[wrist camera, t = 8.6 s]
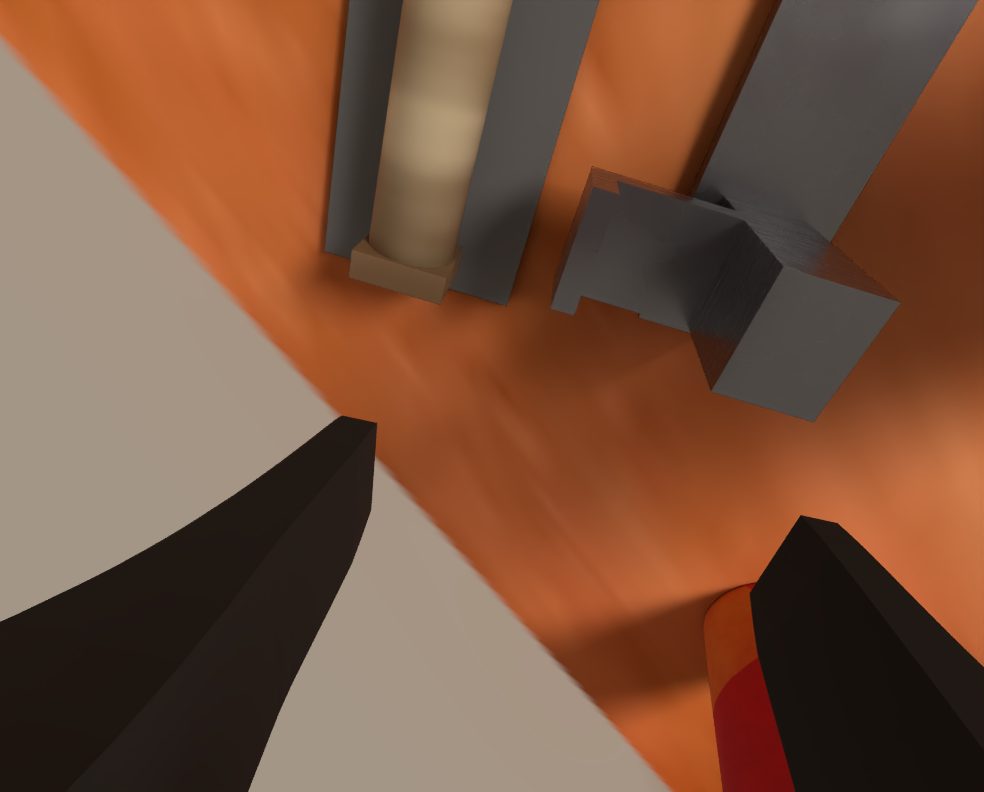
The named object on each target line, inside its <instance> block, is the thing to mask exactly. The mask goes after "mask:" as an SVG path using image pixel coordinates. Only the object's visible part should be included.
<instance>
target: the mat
mask: <svg viewBox="0 0 984 792" xmlns="http://www.w3.org/2000/svg"><path fill="white" fill-rule="evenodd" d="M598 3H599V0H513V2H512V7H511V11H510V15H509V20H508V24H507V28H506V32H505V37H504V41H503V45H502V50H501V54H500V58H499V62H498V67H497V71H496V75H495V80H494V84H493V88H492V93H491V97H490V101H489V105H488V110H487V114H486V118H485V123H484V127H483V131H482V135H481V140H480V144H479V148H478V153H477V157H476V161H475V165H474V170H473V174H472V178H471V183H470V187H469V191H468V195H467V200H466V204H465V208H464V213H463V217H462V221H461V226H460V230H459V234H458V238H457V243H456V245H458V246H461V247H463V251H462V255H461V259H460V263H459V267H458V271H457V273H456V275H455V277H454V279H453V281H452V283H451V285H450V287H449V289H451V290H455V291H458V292H461V293H465V294H468V295H471V296H475V297H478V298H481V299H484V300H488V301H491V302H494V303H498V304H501V305H504V306H507V303H508V300H509V297H510V293H511V290H512V287H513V284H514V280H515V277H516V274H517V270H518V267H519V264H520V260H521V257H522V254H523V251H524V247H525V244H526V241H527V237H528V234H529V231H530V227H531V224H532V221H533V218H534V214H535V211H536V208H537V204H538V201H539V198H540V195H541V191H542V188H543V185H544V181H545V178H546V175H547V171H548V168H549V165H550V162H551V158H552V155H553V152H554V148H555V145H556V142H557V138H558V135H559V132H560V129H561V125H562V122H563V119H564V115H565V112H566V109H567V105H568V102H569V99H570V96H571V92H572V89H573V86H574V82H575V79H576V76H577V72H578V69H579V66H580V63H581V59H582V56H583V53H584V49H585V46H586V43H587V40H588V36H589V33H590V30H591V26H592V23H593V20H594V16H595V13H596V10H597V7H598ZM402 5H403V0H349V10H348V20H347V30H346V40H345V50H344V60H343V70H342V80H341V90H340V101H339V111H338V121H337V131H336V141H335V151H334V161H333V171H332V181H331V191H330V201H329V211H328V221H327V232H326V242H325V252H329V253H332V254H335V255H339V256H342V257H345V258H349V259H351V254H352V249H353V248H354V247H355V246H357V245H358V244H359V243H360V242H361V241H362V240H363V239H364V238H365V237H366V236H367V235H368V234H369V233H370V228H371V221H372V214H373V207H374V200H375V193H376V186H377V179H378V172H379V165H380V158H381V151H382V144H383V137H384V130H385V123H386V116H387V109H388V102H389V95H390V88H391V81H392V74H393V67H394V60H395V53H396V46H397V39H398V32H399V26H400V19H401V12H402Z"/></svg>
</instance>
